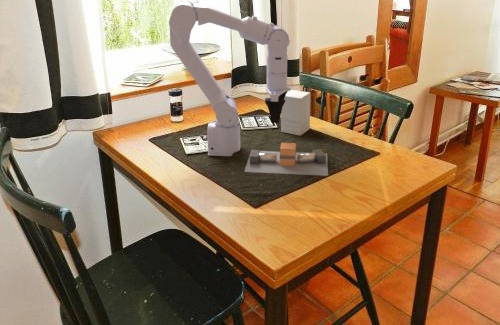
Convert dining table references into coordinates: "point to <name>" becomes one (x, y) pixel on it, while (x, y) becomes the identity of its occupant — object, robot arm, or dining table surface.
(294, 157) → the taped shipping carton
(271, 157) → the input shaft
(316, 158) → the output shaft
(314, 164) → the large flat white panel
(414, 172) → the dining table surface
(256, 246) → the dining table surface
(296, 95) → the supplement box
